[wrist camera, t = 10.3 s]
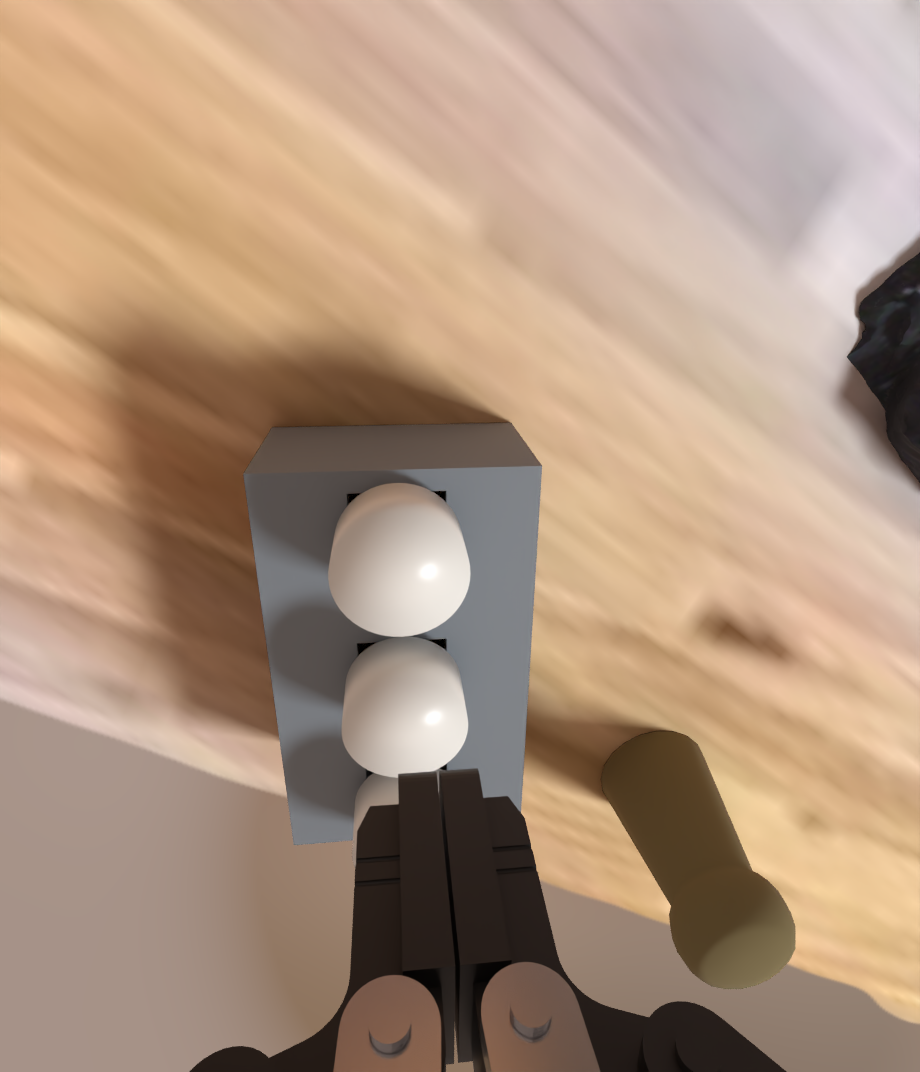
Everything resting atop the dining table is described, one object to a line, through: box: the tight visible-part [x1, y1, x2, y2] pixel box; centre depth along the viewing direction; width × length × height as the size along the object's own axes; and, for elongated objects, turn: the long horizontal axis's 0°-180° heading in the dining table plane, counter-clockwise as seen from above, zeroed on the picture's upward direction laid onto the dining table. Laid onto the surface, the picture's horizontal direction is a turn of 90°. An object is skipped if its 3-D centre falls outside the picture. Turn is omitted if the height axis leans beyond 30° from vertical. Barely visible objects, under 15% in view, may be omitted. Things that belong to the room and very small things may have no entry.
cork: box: [601, 731, 795, 989], centre depth 32 cm, size 6×6×11 cm
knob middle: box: [342, 637, 468, 778], centre depth 26 cm, size 4×4×8 cm
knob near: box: [328, 483, 471, 637], centre depth 24 cm, size 4×4×8 cm
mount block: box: [243, 423, 542, 845], centre depth 28 cm, size 17×10×6 cm, turn 179°
